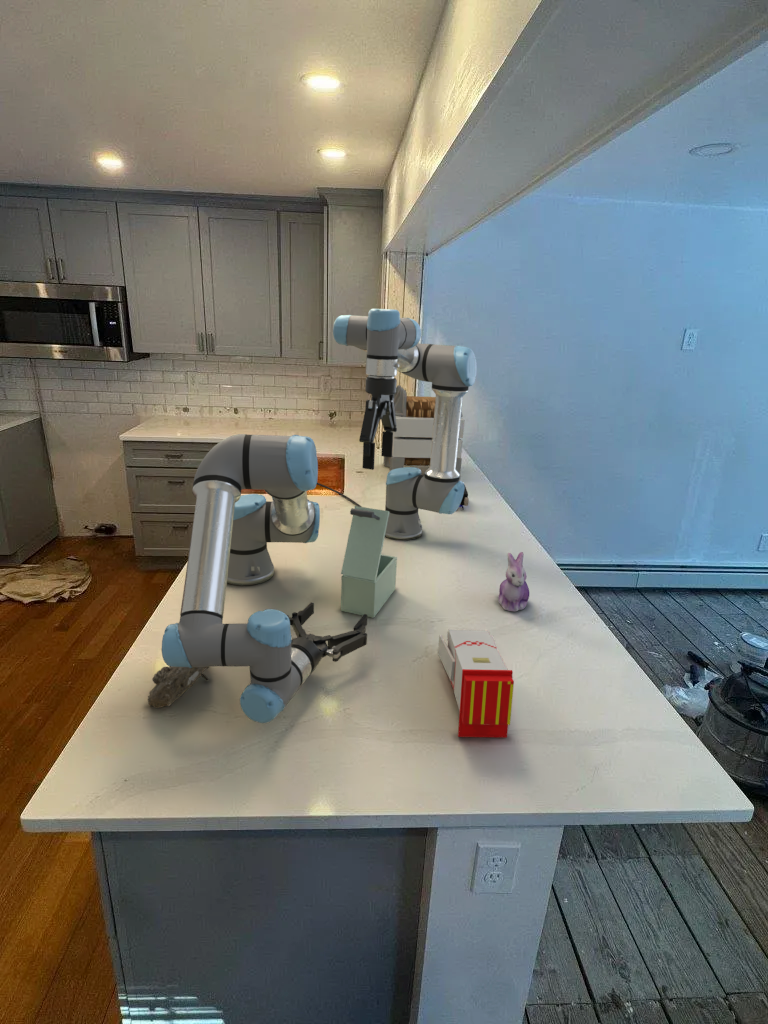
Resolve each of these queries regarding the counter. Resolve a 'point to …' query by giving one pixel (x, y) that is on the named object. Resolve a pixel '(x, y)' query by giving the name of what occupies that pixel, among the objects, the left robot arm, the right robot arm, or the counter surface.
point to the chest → (369, 589)
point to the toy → (478, 682)
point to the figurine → (514, 585)
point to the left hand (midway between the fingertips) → (338, 613)
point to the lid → (365, 542)
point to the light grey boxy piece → (415, 432)
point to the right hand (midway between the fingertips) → (377, 462)
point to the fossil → (173, 684)
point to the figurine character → (464, 499)
